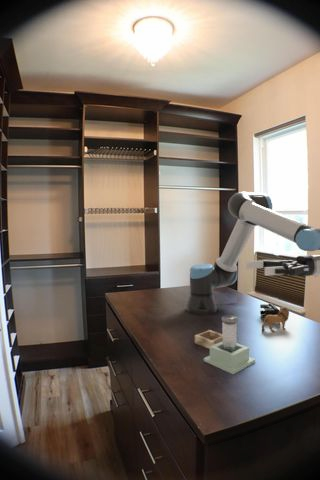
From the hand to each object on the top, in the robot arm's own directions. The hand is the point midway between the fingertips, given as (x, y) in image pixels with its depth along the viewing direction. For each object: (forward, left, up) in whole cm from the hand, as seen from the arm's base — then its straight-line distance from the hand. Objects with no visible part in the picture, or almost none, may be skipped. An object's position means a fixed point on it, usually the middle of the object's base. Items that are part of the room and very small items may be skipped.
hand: (255, 268), depth 113 cm
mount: (-14, -7, -30) cm, 34 cm away
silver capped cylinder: (0, -14, -30) cm, 33 cm away
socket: (0, -14, -30) cm, 33 cm away
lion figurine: (-6, +25, -30) cm, 39 cm away
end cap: (-13, +34, -30) cm, 47 cm away
